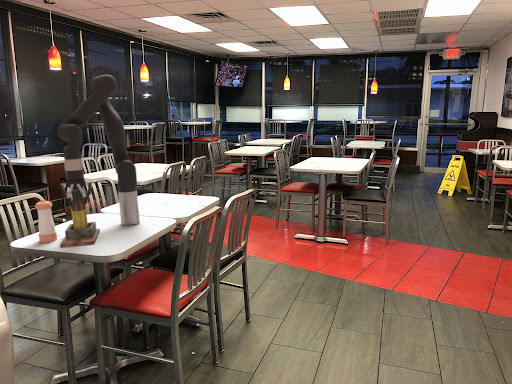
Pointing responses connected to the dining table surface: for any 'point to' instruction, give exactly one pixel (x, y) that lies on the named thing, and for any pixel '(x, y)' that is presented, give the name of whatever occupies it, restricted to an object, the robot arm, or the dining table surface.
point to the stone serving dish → (80, 235)
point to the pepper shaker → (45, 222)
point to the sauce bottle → (78, 211)
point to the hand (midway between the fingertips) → (78, 204)
